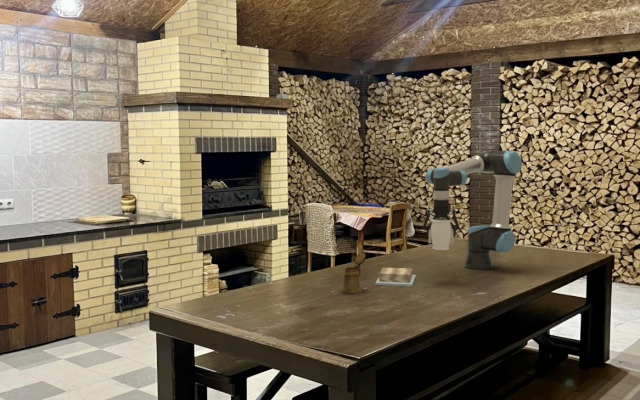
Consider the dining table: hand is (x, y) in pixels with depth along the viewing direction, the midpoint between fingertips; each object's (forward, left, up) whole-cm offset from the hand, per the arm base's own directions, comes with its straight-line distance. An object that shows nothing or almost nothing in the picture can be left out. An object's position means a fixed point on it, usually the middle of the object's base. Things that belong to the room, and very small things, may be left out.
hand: (441, 243), depth 333 cm
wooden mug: (+39, +26, -20) cm, 51 cm away
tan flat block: (+22, +2, -19) cm, 29 cm away
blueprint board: (+22, +2, -20) cm, 30 cm away
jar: (0, 0, -3) cm, 3 cm away
